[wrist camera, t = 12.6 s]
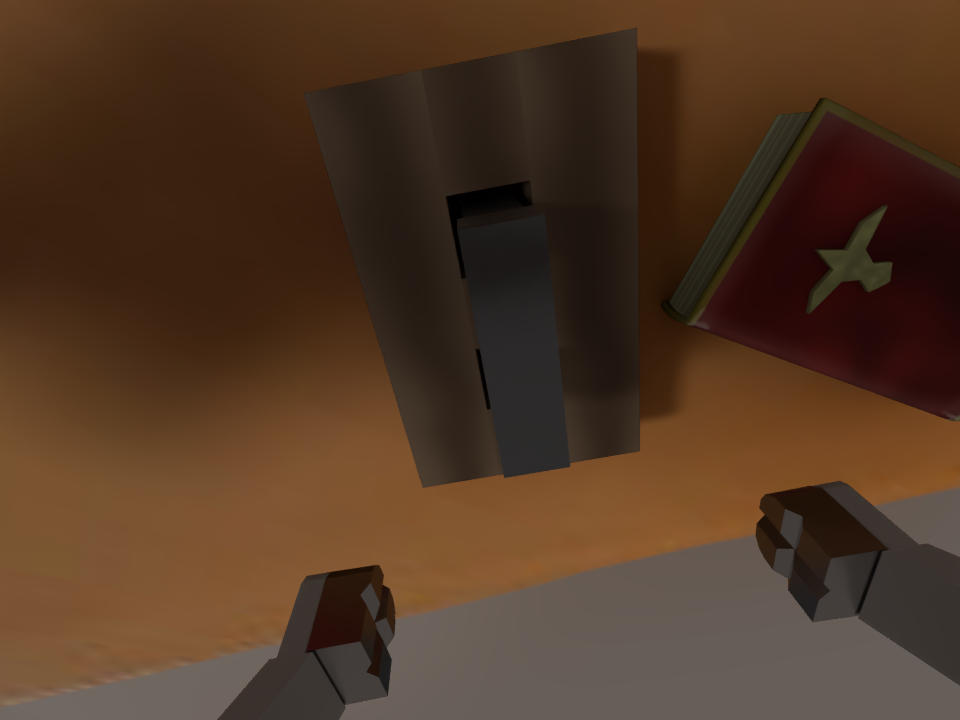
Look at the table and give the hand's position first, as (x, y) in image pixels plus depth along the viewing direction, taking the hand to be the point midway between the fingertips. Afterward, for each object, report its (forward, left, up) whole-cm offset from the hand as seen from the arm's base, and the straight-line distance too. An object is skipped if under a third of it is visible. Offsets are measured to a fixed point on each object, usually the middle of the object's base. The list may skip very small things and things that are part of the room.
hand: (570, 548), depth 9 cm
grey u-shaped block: (0, 0, -19) cm, 19 cm away
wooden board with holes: (0, 0, -19) cm, 19 cm away
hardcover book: (+22, -4, -20) cm, 30 cm away
